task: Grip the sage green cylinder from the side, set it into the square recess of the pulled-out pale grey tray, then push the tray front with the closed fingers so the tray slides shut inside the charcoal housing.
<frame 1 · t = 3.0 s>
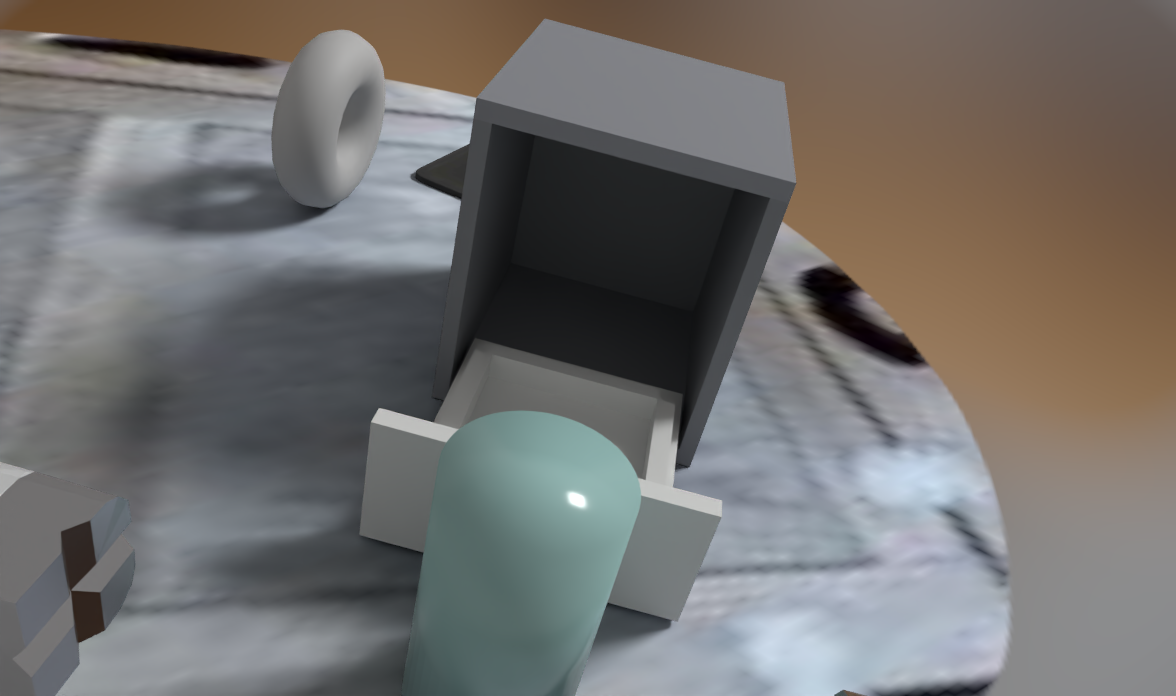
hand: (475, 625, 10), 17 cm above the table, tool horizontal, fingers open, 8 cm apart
smartphone: (513, 173, 63), on the table
donut: (326, 204, 53), on the table
sage green cylinder: (486, 692, 29), on the table
tray: (561, 424, 36), point 3 cm above the table, slide at 8.0 cm
housing: (582, 354, 45), on the table
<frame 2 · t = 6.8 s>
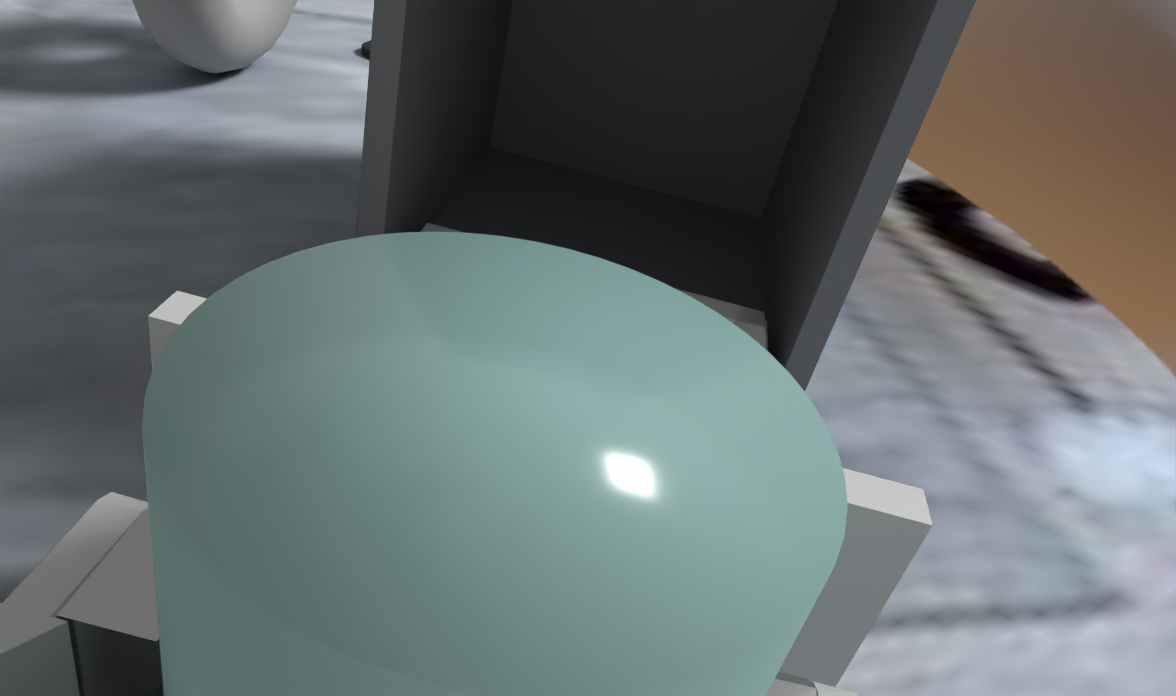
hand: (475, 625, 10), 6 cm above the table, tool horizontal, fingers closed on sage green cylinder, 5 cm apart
donut: (226, 73, 37), on the table
tray: (568, 355, 20), point 3 cm above the table, slide at 8.0 cm
housing: (599, 270, 29), on the table
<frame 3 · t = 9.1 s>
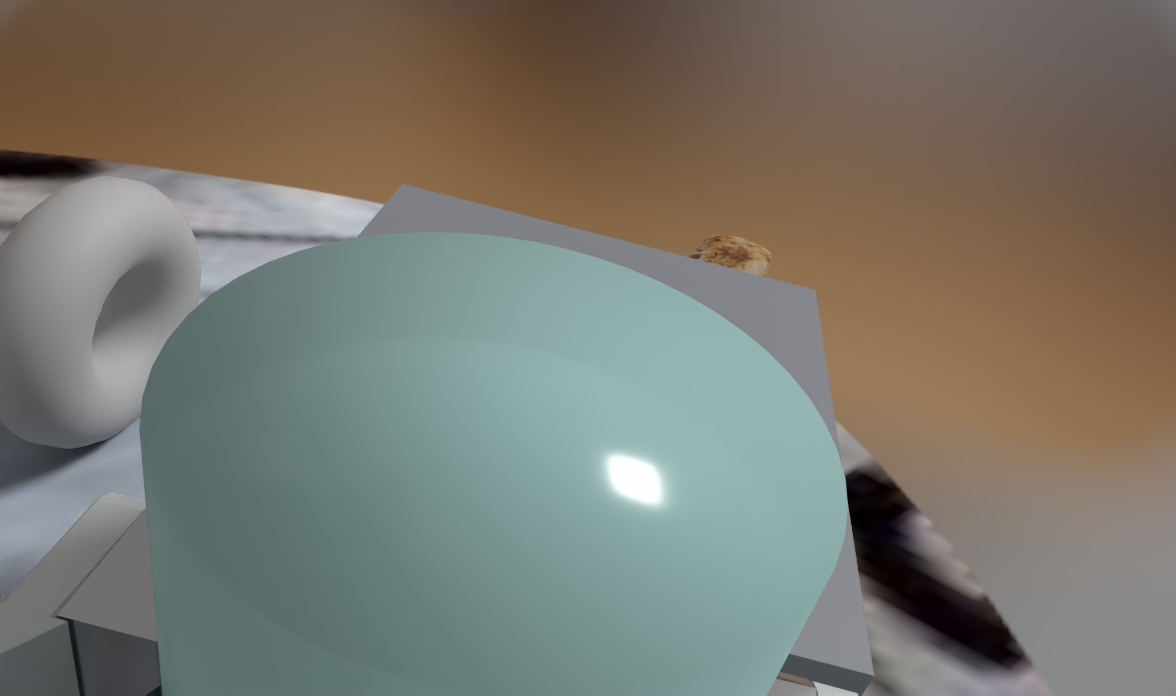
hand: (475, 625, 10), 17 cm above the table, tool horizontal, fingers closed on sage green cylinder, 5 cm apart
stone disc: (663, 441, 41), on the table
donut: (112, 424, 35), on the table
when the fingers open (9 cm above the table, at t = 11.0 s): sage green cylinder drops 2 cm, resting on tray.
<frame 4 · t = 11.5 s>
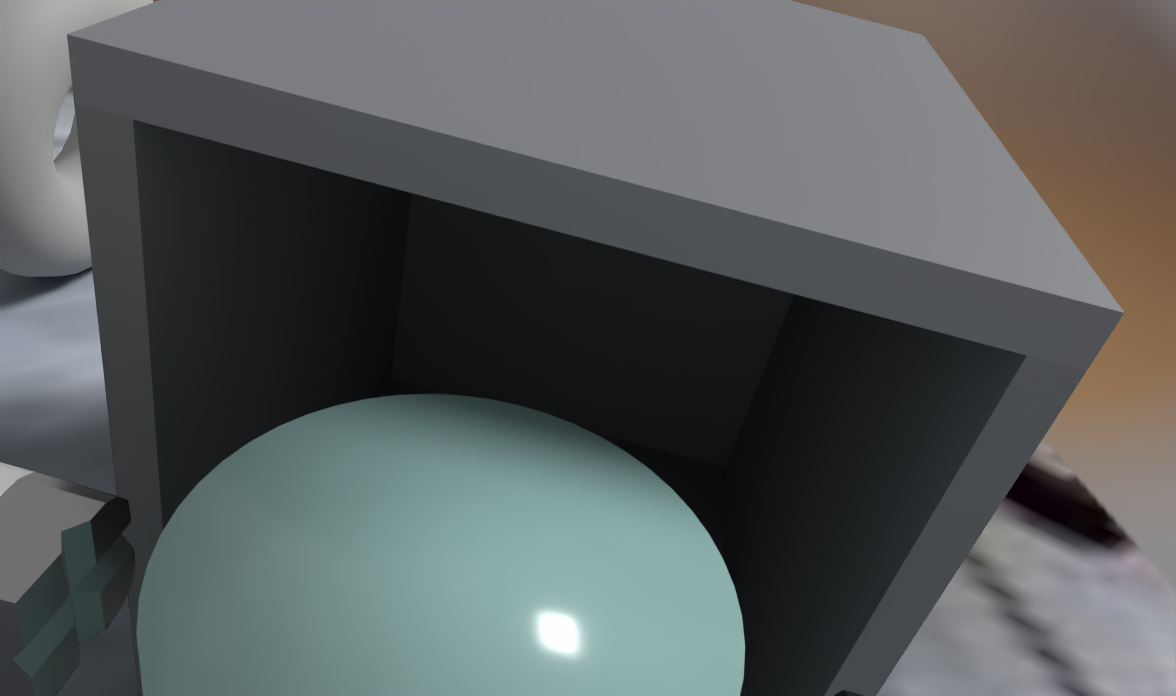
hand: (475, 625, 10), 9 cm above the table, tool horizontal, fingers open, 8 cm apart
donut: (82, 265, 30), on the table
housing: (512, 581, 23), on the table
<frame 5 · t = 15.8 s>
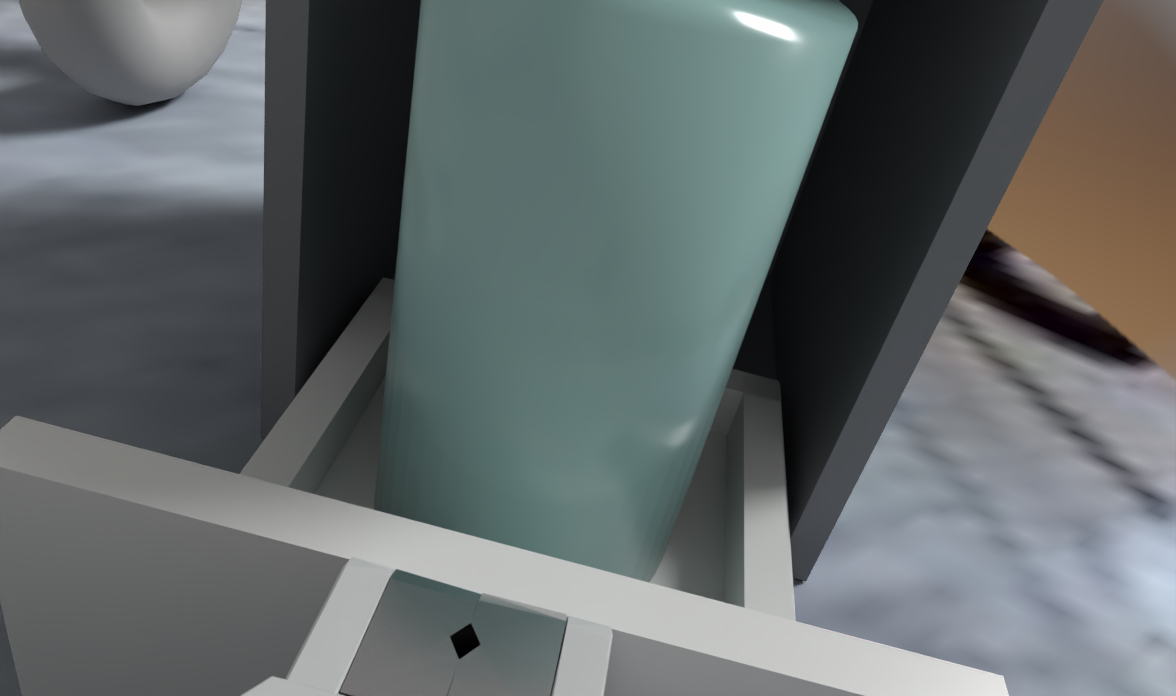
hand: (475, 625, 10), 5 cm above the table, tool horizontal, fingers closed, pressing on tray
donut: (153, 104, 32), on the table
sage green cylinder: (524, 504, 16), point 2 cm above the table, touching tray
tray: (545, 448, 16), point 3 cm above the table, slide at 6.3 cm, touching gripper, sage green cylinder
housing: (579, 348, 24), on the table
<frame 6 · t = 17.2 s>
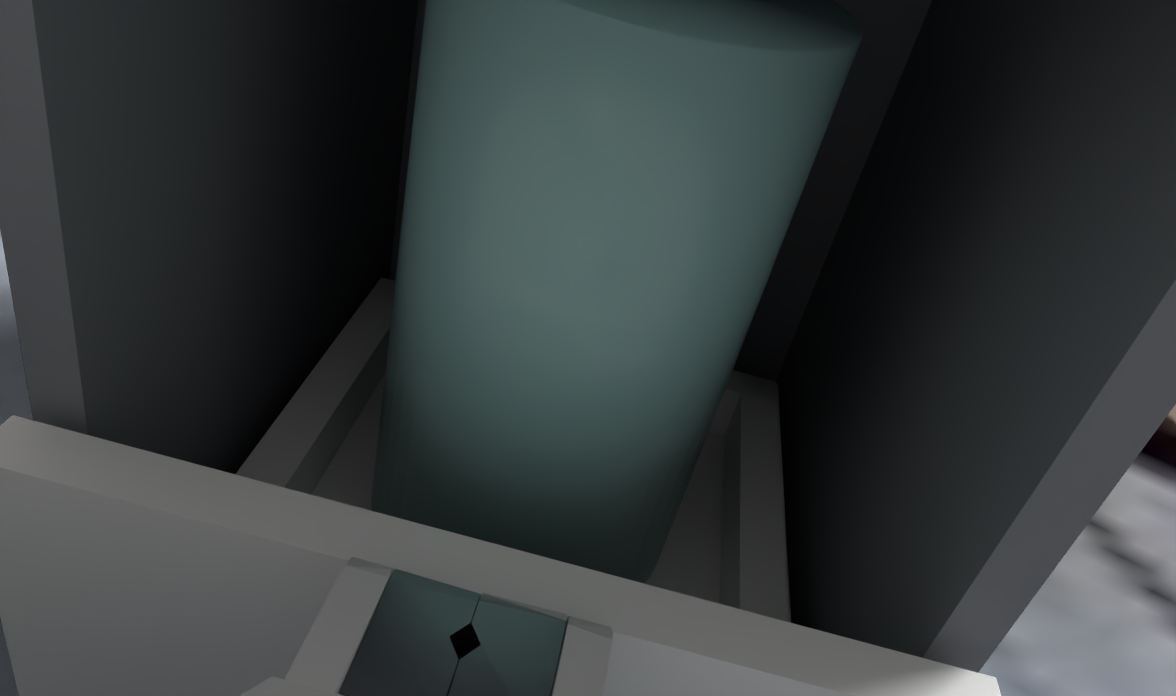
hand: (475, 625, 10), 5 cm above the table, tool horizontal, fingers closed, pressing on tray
sage green cylinder: (521, 504, 16), point 2 cm above the table, touching tray
tray: (542, 448, 16), point 3 cm above the table, slide at 0.1 cm, touching gripper, sage green cylinder
housing: (532, 499, 19), on the table
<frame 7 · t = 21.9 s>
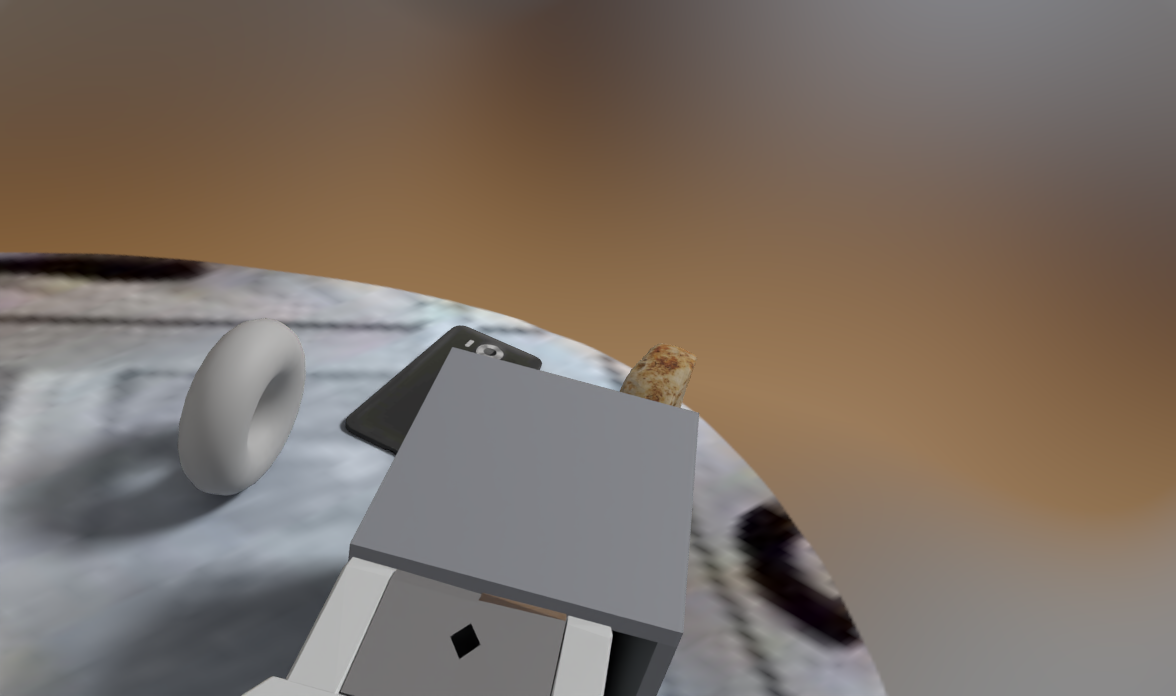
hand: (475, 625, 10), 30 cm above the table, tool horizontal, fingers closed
smartphone: (449, 399, 62), on the table
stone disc: (622, 485, 58), on the table
donut: (245, 475, 52), on the table
housing: (496, 676, 44), on the table
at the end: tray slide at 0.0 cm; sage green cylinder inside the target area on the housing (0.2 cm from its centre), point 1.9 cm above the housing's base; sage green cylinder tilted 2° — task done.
